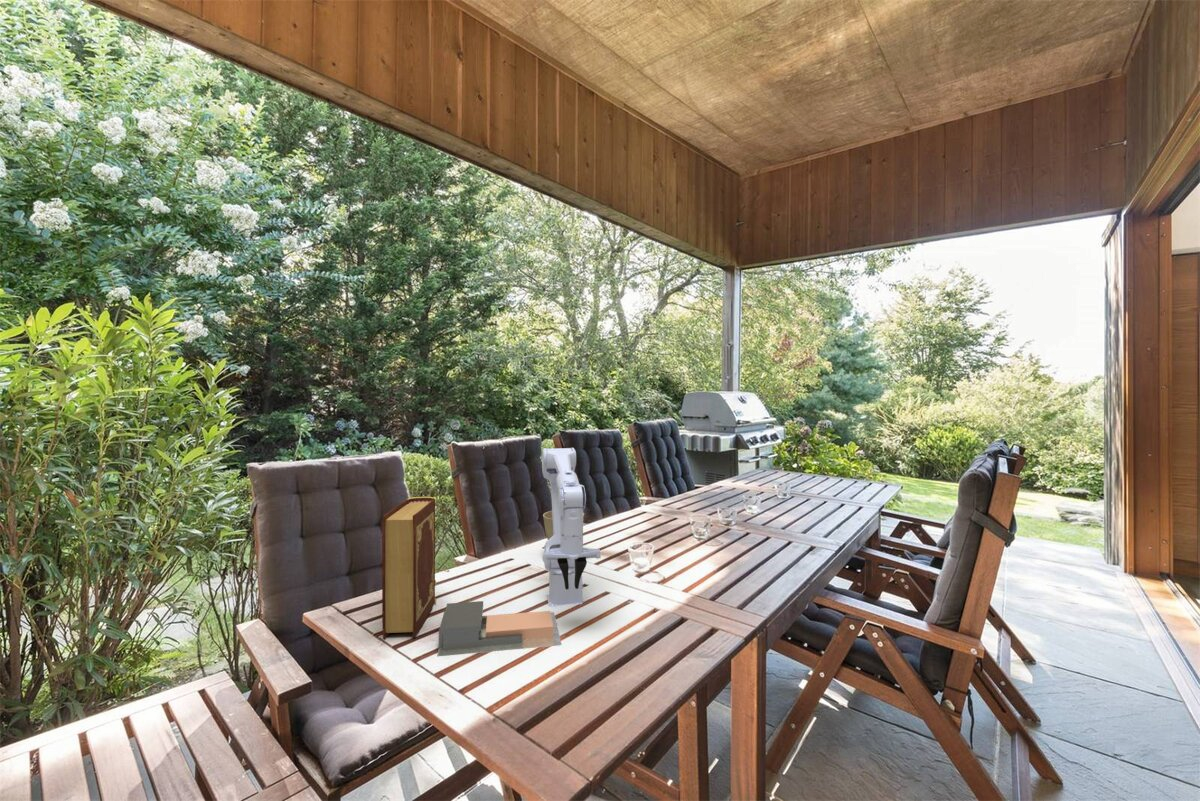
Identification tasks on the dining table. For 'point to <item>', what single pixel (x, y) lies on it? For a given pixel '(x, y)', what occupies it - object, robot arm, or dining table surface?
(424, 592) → the decorative book
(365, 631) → the dining table surface
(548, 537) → the plant pot
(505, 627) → the peach rectangular panel
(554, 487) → the robot arm
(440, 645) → the dock
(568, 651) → the dining table surface
